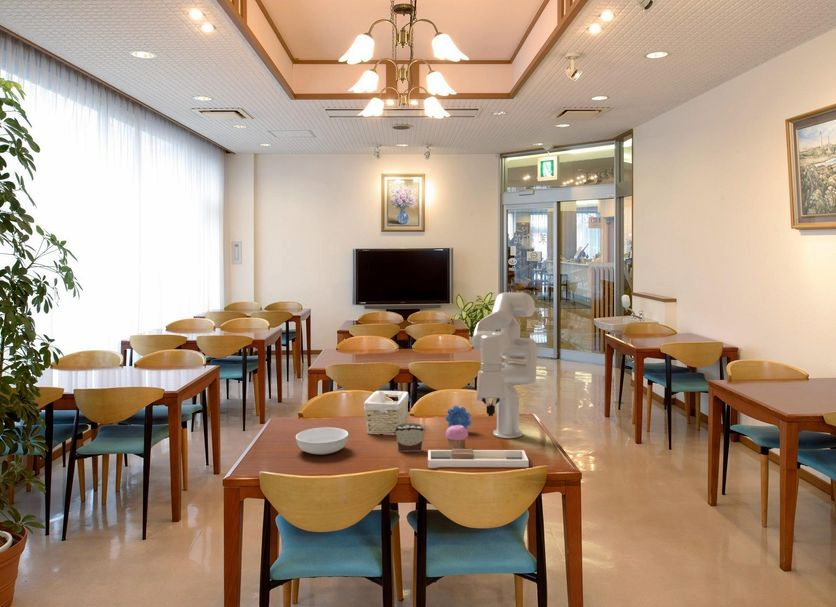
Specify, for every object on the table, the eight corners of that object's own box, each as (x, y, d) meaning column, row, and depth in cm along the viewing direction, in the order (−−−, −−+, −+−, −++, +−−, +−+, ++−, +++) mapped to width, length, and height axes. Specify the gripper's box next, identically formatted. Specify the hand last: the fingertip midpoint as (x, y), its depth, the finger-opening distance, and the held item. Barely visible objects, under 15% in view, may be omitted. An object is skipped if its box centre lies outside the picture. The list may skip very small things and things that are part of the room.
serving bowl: (291, 446, 264) (291, 430, 263) (341, 441, 271) (341, 425, 271) (301, 462, 244) (300, 444, 244) (354, 455, 252) (354, 438, 251)
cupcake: (471, 448, 260) (471, 424, 259) (461, 454, 253) (461, 429, 252) (452, 445, 265) (451, 421, 264) (441, 450, 257) (441, 426, 256)
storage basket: (399, 436, 277) (399, 403, 276) (362, 435, 280) (362, 401, 279) (409, 422, 301) (409, 391, 299) (376, 420, 303) (375, 389, 302)
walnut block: (451, 459, 246) (451, 448, 245) (472, 458, 246) (472, 448, 245) (452, 464, 240) (452, 453, 239) (473, 464, 240) (473, 453, 239)
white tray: (428, 457, 249) (428, 450, 249) (523, 457, 248) (523, 450, 248) (428, 468, 237) (427, 460, 237) (528, 468, 236) (528, 460, 236)
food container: (424, 446, 263) (424, 422, 263) (425, 451, 257) (425, 426, 256) (394, 446, 263) (394, 422, 262) (394, 451, 257) (394, 426, 256)
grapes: (448, 435, 278) (448, 408, 277) (444, 431, 285) (444, 404, 284) (474, 433, 280) (474, 406, 279) (469, 429, 287) (469, 403, 286)
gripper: (509, 365, 243) (509, 412, 245) (470, 365, 243) (470, 412, 245) (512, 369, 236) (511, 418, 237) (471, 369, 236) (471, 418, 238)
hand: (490, 415), depth 241 cm, fingers closed
